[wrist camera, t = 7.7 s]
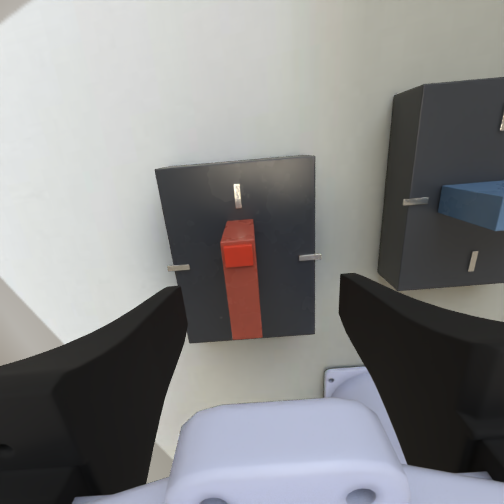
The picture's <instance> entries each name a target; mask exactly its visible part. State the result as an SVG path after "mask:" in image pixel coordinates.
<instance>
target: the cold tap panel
mask: <svg viewBox="0 0 504 504" xmlns="http://www.w3.org/2000/svg"><path fill="white" fill-rule="evenodd" d="M502 180H504V77H498V78H487V79H476V80H464V81H453V82H442V83H431V84H423V85H421V86H418V87H415V88H413V89H410V90H408V91H405V92H402V93H400V94H397V95H395V96H394V103H393V114H392V125H391V135H390V146H389V157H388V167H387V178H386V189H385V199H384V210H383V221H382V231H381V242H380V253H379V263H378V273H379V274H380V275H381V276H382V277H383V278H384V279H385V280H386V281H388V282H389V283H390V284H391V285H392V286H393V287H394V288H395V289H396V290H397V291H404V290H417V289H430V288H443V287H457V286H470V285H483V284H496V283H504V231H493V230H490V229H487V228H484V227H481V226H478V225H474V224H471V223H468V222H465V221H462V220H459V219H456V218H453V217H450V216H447V215H444V214H440V213H438V208H439V202H440V196H441V190H442V186H444V185H455V184H467V183H478V182H490V181H502Z"/></svg>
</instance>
